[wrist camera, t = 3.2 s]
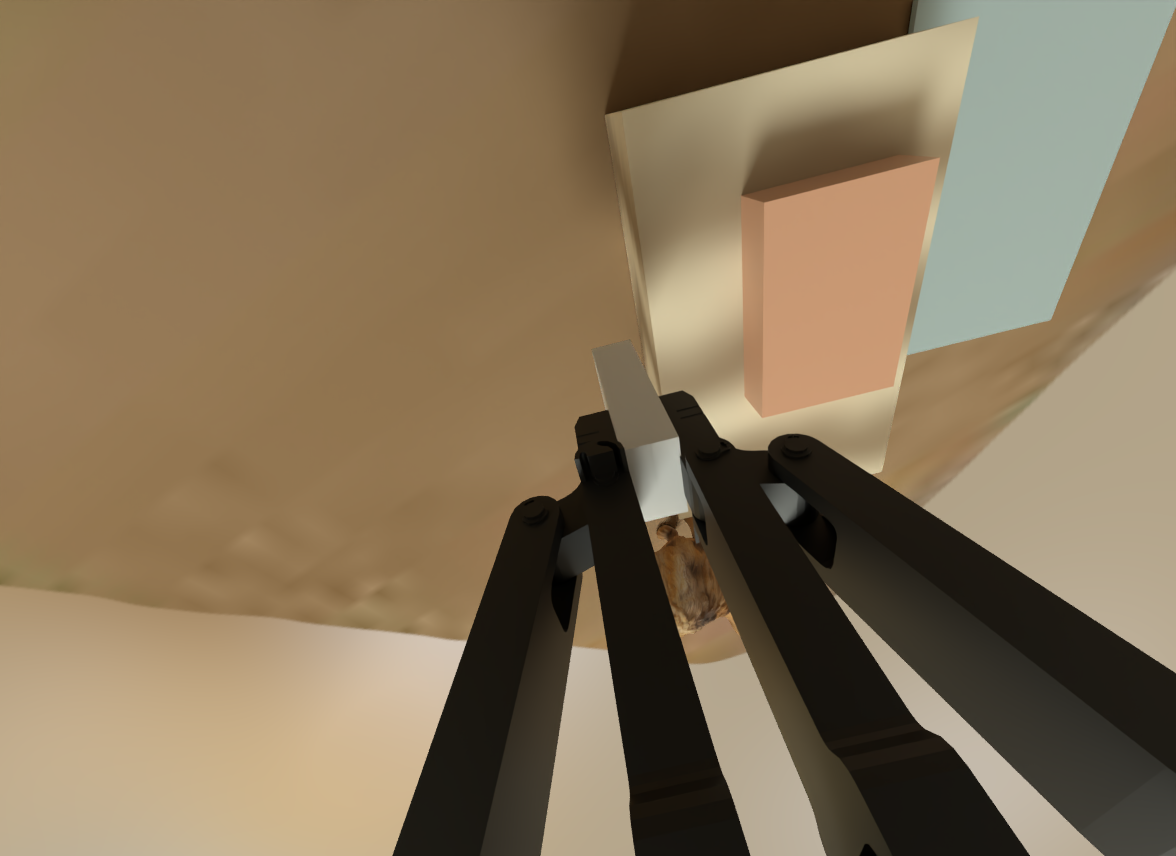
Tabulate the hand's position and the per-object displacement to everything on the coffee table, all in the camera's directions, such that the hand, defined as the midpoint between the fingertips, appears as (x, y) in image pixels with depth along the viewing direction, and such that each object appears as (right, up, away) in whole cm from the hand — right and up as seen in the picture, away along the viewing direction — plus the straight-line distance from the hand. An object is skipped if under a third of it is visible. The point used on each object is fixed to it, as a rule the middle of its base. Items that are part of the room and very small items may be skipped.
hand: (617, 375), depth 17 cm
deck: (+8, +4, +6) cm, 11 cm away
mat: (+19, +9, +4) cm, 21 cm away
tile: (+9, +4, +2) cm, 9 cm away
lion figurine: (+7, -10, +16) cm, 20 cm away
